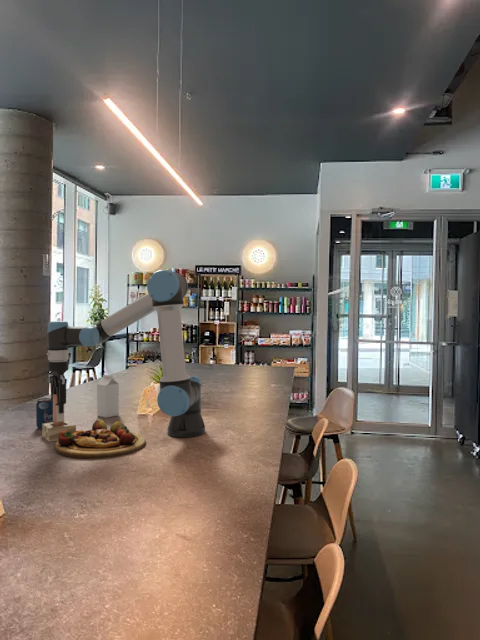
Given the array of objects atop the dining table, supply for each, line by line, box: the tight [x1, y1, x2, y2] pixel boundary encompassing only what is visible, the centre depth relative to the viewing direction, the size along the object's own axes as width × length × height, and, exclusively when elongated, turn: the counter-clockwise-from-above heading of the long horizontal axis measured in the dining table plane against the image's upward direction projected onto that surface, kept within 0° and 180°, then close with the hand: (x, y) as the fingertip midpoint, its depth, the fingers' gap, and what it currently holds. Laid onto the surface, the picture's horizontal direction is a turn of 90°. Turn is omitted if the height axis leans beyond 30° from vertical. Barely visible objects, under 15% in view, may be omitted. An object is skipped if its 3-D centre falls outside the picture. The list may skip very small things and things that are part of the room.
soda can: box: [35, 397, 53, 430], centre depth 207 cm, size 7×7×12 cm
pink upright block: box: [53, 394, 65, 427], centre depth 192 cm, size 4×4×14 cm
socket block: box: [41, 419, 77, 443], centre depth 192 cm, size 10×10×5 cm
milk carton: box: [96, 374, 120, 419], centre depth 230 cm, size 7×7×19 cm
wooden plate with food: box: [54, 418, 147, 460], centre depth 180 cm, size 32×32×8 cm
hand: (58, 420), depth 192 cm, fingers closed on pink upright block, 4 cm apart
